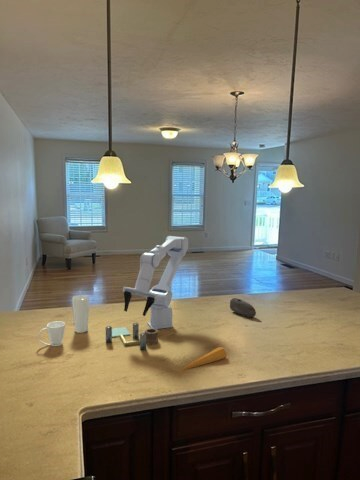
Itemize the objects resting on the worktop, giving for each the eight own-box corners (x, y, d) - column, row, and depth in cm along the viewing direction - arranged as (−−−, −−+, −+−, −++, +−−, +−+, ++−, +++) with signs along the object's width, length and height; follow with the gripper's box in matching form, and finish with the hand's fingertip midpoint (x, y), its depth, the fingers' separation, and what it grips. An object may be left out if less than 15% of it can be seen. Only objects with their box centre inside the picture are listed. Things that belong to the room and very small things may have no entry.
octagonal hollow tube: (155, 338, 147) (155, 327, 146) (159, 343, 142) (159, 332, 142) (143, 340, 145) (143, 329, 145) (147, 345, 141) (147, 334, 140)
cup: (67, 345, 139) (67, 325, 138) (40, 350, 134) (39, 330, 133) (63, 338, 145) (63, 319, 144) (37, 343, 140) (36, 323, 139)
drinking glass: (85, 334, 149) (84, 300, 147) (70, 333, 150) (69, 298, 148) (92, 328, 156) (91, 295, 153) (77, 327, 157) (77, 294, 155)
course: (137, 335, 150) (137, 321, 149) (147, 349, 136) (147, 335, 135) (104, 339, 145) (104, 325, 144) (111, 355, 131) (111, 340, 130)
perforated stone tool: (258, 318, 172) (259, 304, 171) (251, 320, 169) (252, 306, 168) (235, 309, 184) (236, 296, 183) (228, 311, 181) (229, 298, 180)
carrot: (222, 357, 134) (219, 345, 134) (229, 357, 130) (226, 345, 130) (177, 376, 123) (174, 363, 124) (184, 377, 119) (180, 364, 120)
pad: (125, 328, 157) (125, 327, 157) (130, 335, 150) (130, 333, 150) (107, 330, 154) (107, 329, 154) (110, 337, 147) (110, 336, 147)
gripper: (125, 274, 143) (115, 307, 139) (160, 282, 141) (150, 316, 137) (128, 278, 150) (118, 310, 146) (161, 286, 148) (153, 318, 144)
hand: (134, 313), depth 142 cm, fingers open, 7 cm apart
